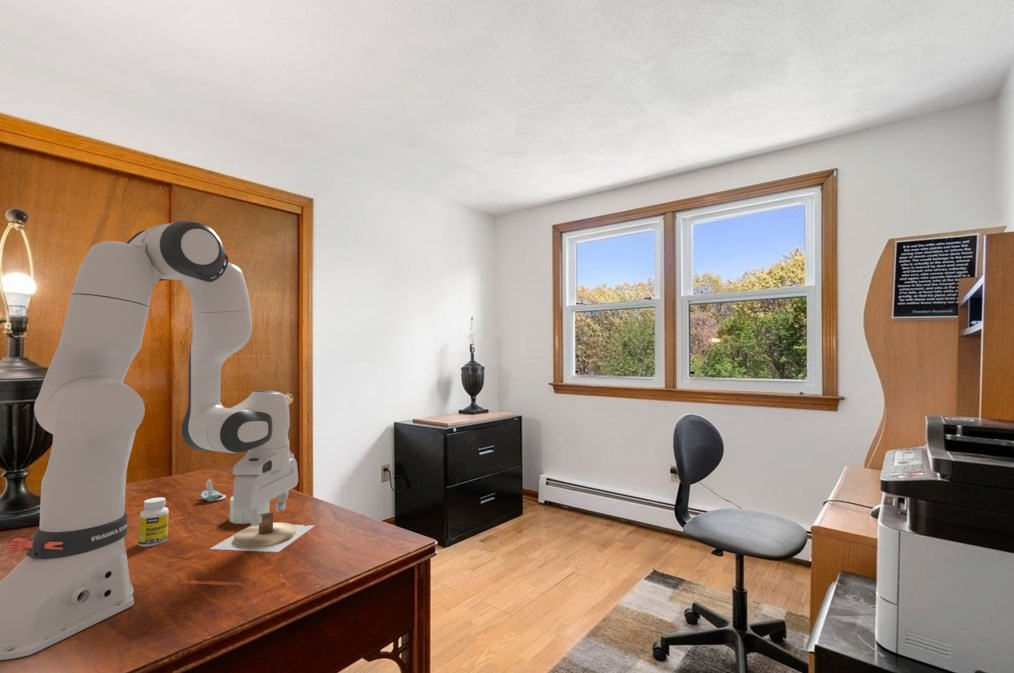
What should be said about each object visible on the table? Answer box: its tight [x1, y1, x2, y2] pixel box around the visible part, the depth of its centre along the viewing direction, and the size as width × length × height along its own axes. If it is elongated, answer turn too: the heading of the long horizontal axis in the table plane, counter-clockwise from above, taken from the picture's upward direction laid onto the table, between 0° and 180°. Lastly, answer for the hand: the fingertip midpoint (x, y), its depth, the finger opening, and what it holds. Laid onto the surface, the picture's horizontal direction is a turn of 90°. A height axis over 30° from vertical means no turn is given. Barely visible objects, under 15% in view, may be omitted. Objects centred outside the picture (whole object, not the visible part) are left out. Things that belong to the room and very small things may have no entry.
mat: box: [209, 524, 315, 553], centre depth 111 cm, size 16×16×1 cm
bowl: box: [229, 495, 270, 525], centre depth 124 cm, size 9×9×6 cm
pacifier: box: [200, 479, 227, 502], centre depth 142 cm, size 7×6×6 cm
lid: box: [234, 512, 296, 548], centre depth 111 cm, size 13×13×5 cm
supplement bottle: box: [137, 496, 170, 548], centre depth 109 cm, size 5×5×10 cm
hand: (268, 517), depth 112 cm, fingers open, 8 cm apart
